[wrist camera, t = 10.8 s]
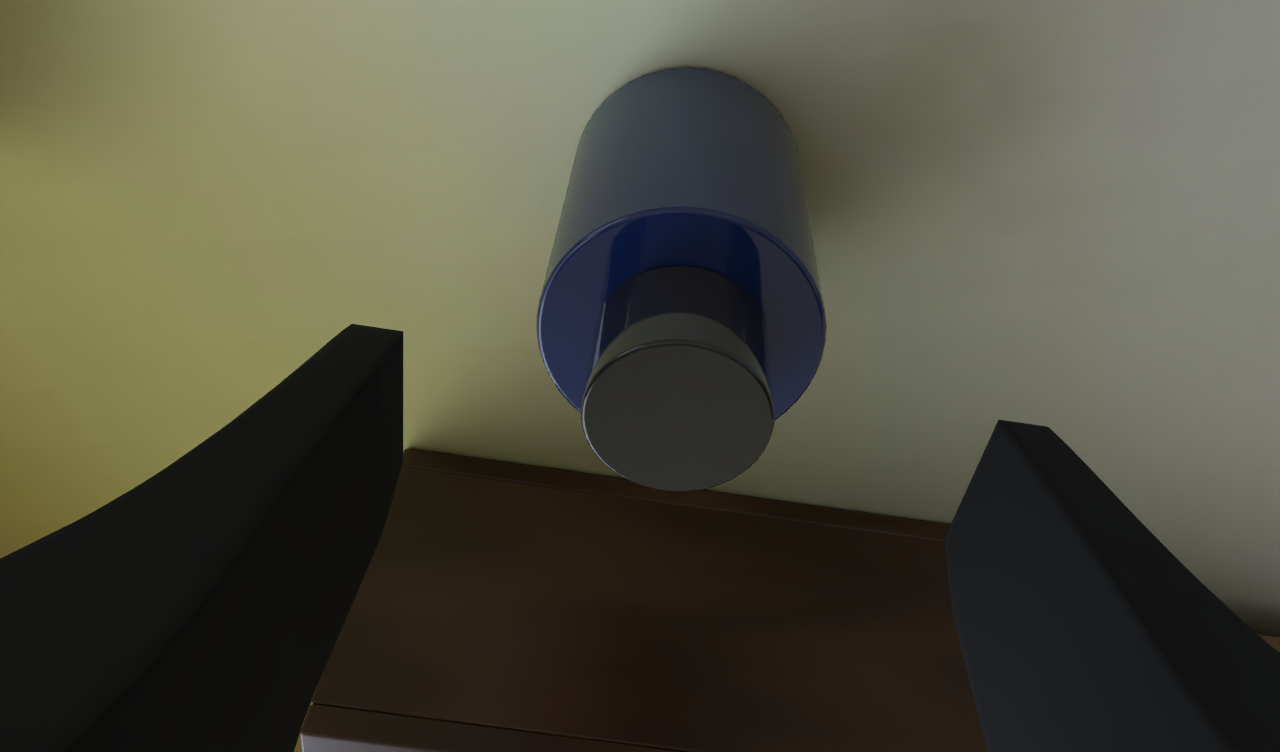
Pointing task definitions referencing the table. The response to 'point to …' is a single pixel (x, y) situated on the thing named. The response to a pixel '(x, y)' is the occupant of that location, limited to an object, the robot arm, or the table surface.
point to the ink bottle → (683, 280)
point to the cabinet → (640, 623)
